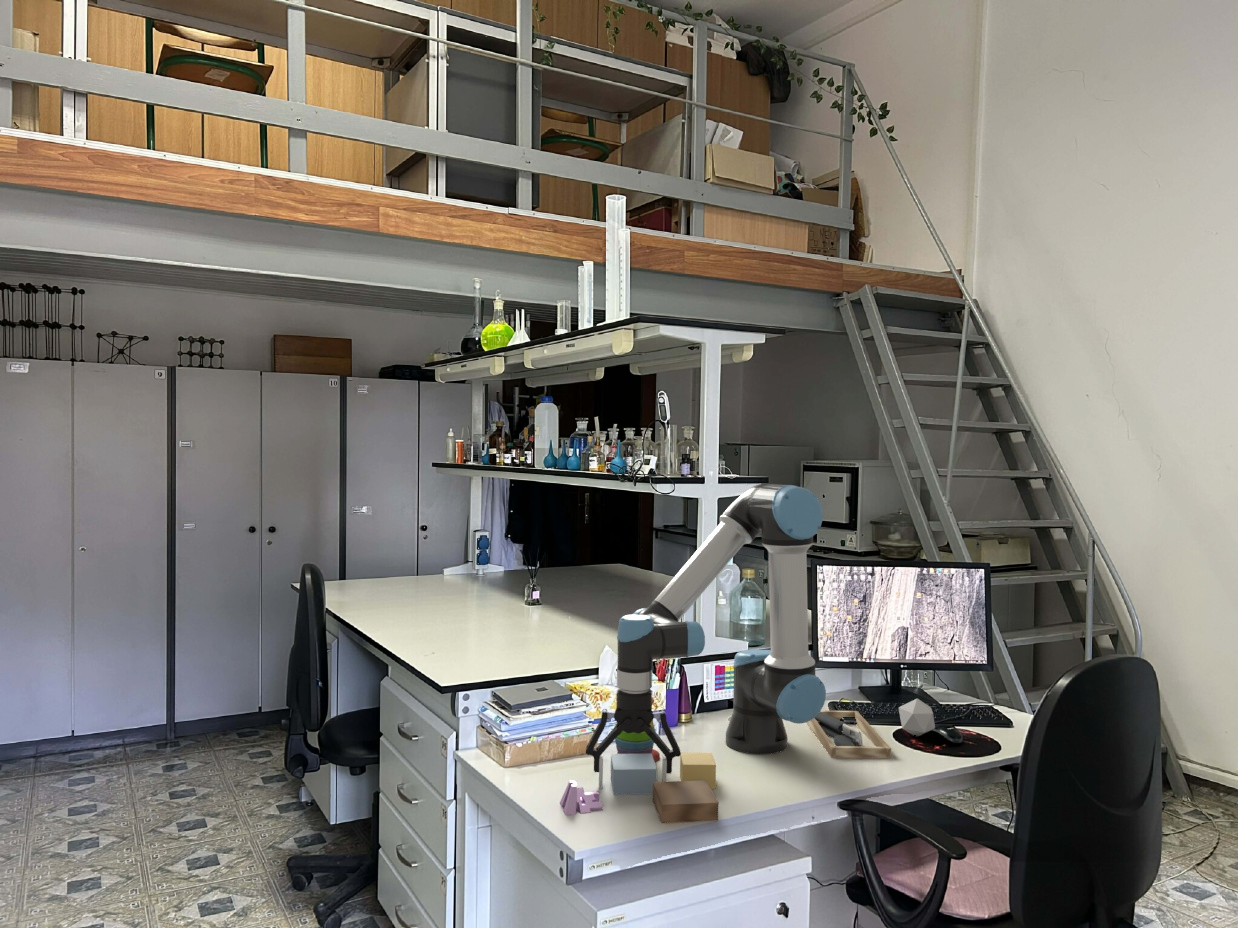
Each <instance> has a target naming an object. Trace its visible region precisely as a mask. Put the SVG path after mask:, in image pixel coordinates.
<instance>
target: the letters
mask: <svg viewBox="0 0 1238 928" xmlns="http://www.w3.org/2000/svg"><path fill="white" fill-rule="evenodd" d="M584 790H585V789H584V787H578V784H577V782H576V781H575V780H569V781H568V783H567V786H566V788H565V790H564V792H563V795H562V797H561V799H560V800H559V805H560V807H561V808H563V813H564V816H571V815H573V816H574V815H576V814H577V811H579V813H580V814H591V813H592V812H596V811H597V812H598V811H603V809H604V805H603V802H602V801H601V800H600V792H599V791H597V790H596V791H584Z"/></svg>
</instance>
